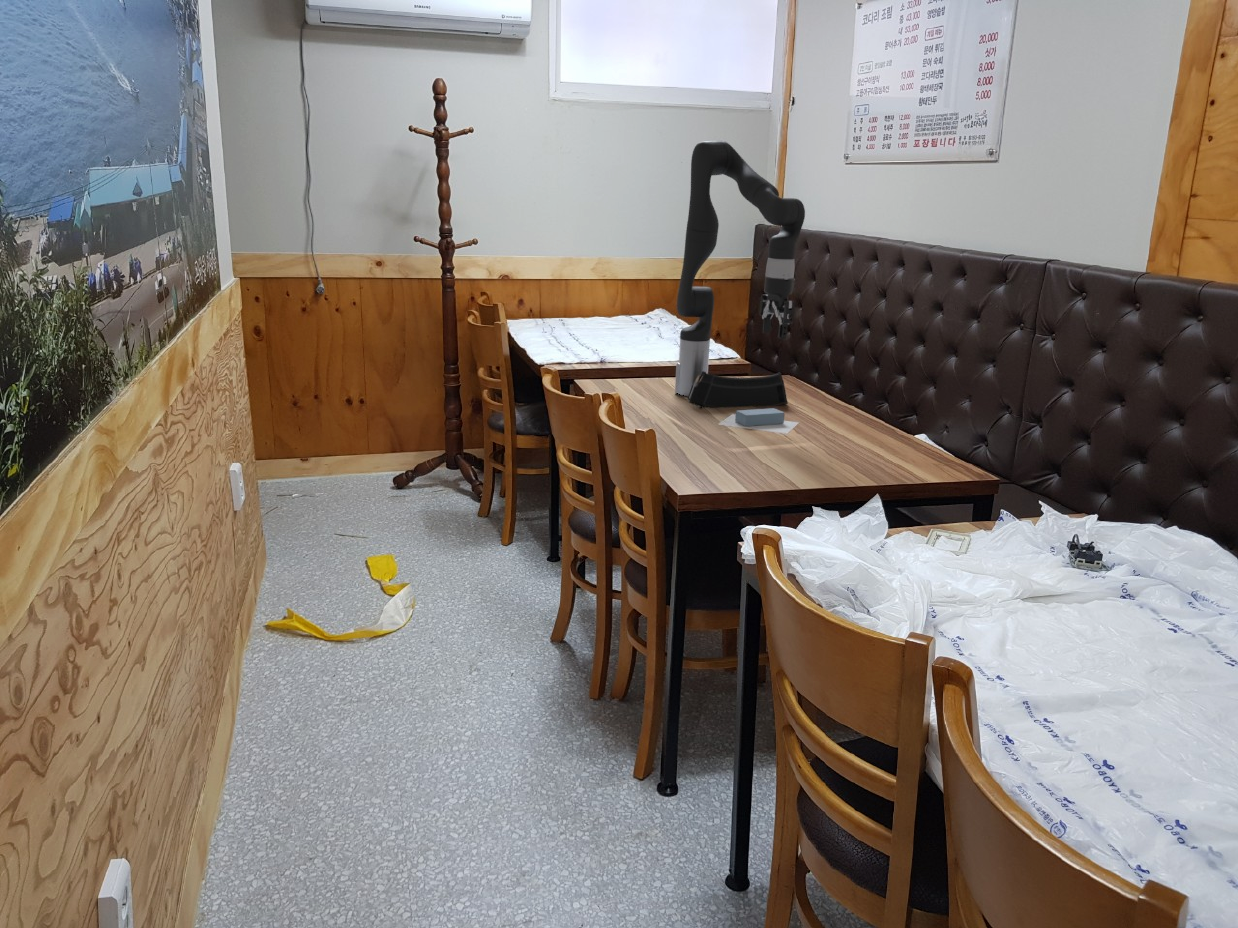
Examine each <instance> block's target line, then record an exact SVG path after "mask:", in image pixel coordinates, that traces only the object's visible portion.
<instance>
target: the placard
mask: <svg viewBox="0 0 1238 928" xmlns="http://www.w3.org/2000/svg"><path fill="white" fill-rule="evenodd" d="M735 414H736V417H735V422H738V423H740V424H742V425H744V426H757V425H771V424H783V423H784V421H785V414H786V413H785V411H782V410H779V409H777V408H773V407H771V408H756V409H744V410H743V409H742V410H741V409H740V410H735Z"/></svg>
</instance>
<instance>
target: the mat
mask: <svg viewBox="0 0 1238 928" xmlns="http://www.w3.org/2000/svg"><path fill="white" fill-rule="evenodd" d="M735 417H736V413H732V414H731V415H729V416H727V417H726V418H725V419H723V420H722V421H720V422H719V423H718V424H717V425H719V426H726V427H732V428H733V427H734V428H741V429H748V430H749V429H750V430H754V431H762V432H768V433H769V432H770V433H778V434H784V435H785V434H786V435H788V434H789V433H790V432H791V431H793V429H794V428H795V427H796V426H797V425H799V423H800V422H799V421H791V420H784V423H783V424H771V425H757V426H744V425H742V424H740V423H738V422H735Z"/></svg>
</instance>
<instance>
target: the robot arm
mask: <svg viewBox="0 0 1238 928" xmlns="http://www.w3.org/2000/svg"><path fill="white" fill-rule="evenodd" d="M690 161H691V163H690V191H689V192H690V195H689V207H688V216H687V221H686V231H685V240H684V242H685V243H684V253H683V261H682V268H681V269H682V270H681V274H680V278H679V279H680V280H679V286H678V292H677V298H676V311H677V314H678V315H679V316H680V317H681V318H682V317H683V318H698V319H697V321H695V323H693V324H691V325H689V326H687V327H684V328H682V329H681V330H680V333H679V334H680V335H679V352H678V362H676V365H675V383H674V386H675V387H674V394H675V393H678V394H677V395H679V394H680V396H683V395H684V396H685V397H688V396H689V393H690V390H691V387H692V385H694V383H695V381H696V379H697V377H698V375H700V376H701V374H702V372H703V371H704V372H706V374H709V359H710V346H711V333H712V326H713V324H712V323H713V315H714V308H715V294H714V290H713V289H712V288H711V287H710V286H693V285H694V281H695V278H696V277H697V273H699V270H700V269H701V268H702V266H703V265H704V263H705V262H706V261H707V260H708V258H709V257H710V256H711V255H712V253H713V251H714V250H715V248H716V247H717V246H716V245H717V241H718V235H719V227H720V224H719V218H718V215H717V211H716V210H715V207H714V205H713V202H712V198H711V191H710V189H711V179H712V176H722V175H724V176H726V177H729V178H730V179H733V180H734V181H735V182H736V184H737V187H738V190H739V192H740V194H741V195H742V197H743V198H744V199H745V200H747V201H748V202H749V203H750V204H752V205H753V206H754V207H755V208H757V209H758V210H759V212H760V213H761V215H762V216H763V218H764V219H765V221H766V222H768V223H769V224H771V225H773V226H775V227H776V226H777V227H781V228H780V231H779V232H778V234H776V235H775V234H774V235H773V236H772V237H771V238H770V239H769V243H768V244H769V245H768V256H767V262H766V268H765V276H764V277H765V278H764V279H765V280H764V289H763V291H764V293H765V294H760V295H761V296H760V304H759V311H758V314H759V317H761V318H762V320H763V322H762V334H770V333H771V331H772V318H773V316H774V315H775V317H776V318H777V320H778V321H779V322H778V323H779V324H778V331H777V332H778V333H777V334H778V335H777V339H780V340H782V339H783V340H786V338H787V335H788V334H787V333H788V325H790V324H793V323H794V319H795V318H794V316H795V305H796V304H795V300H789V296H790V295H792V294H793V288H794V280H795V279H794V277H795V265H796V264H795V258H796V247H797V242H798V239H799V236H800V233H801V230H802V228H803V225H804V222H805V219H806V218H805V217H806V210H805V205H804V203H803V202H802V201H801V200H800V199H799V198H794V197H792V198H791V197H786V198H785V197H780V192H779V190H778V188H776V187H775V185H773V183H771V182H769V181H768V180H767V179H766V178H764V177H763V176H761V175H759V173H757V172H756V171H755V170H754V169H753V168H752V167H751V166H750V165H749V164H748V163H747V162H746V161H745V159H744V158H743V157H742V156H741V155H740V154H739V153H738V151H736V149H735V148H734V147H733V146H732V145H731V144H730V143H728V142H727V141H723V140H704V141H700V142H698V143H697V144H696V145H695V146H694V148H693V151H692V155H691V159H690ZM684 396H683V397H684Z"/></svg>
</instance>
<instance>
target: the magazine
mask: <svg viewBox="0 0 1238 928" xmlns="http://www.w3.org/2000/svg"><path fill="white" fill-rule="evenodd" d="M687 400H688V401H689V404H690V405H691V404H692V405H695V406H699V408H700V409H701V410H702V409H703V408H707V409H714V408H715V409H716V408H717V409H718V408H736V407H737V408H739V407H742V408H743V407H745V408H746V407H774V406H775V407H776V406H777V407H778V406H782V405H788V404H789V402H788V398H787V393H786V386H785V382H784V379H783V375H782V373H781V372H780V371H779V372H777V373H774V374H771V375H766V376H765V375H764V376H754V377H753V376H752V377H729V376H722V375H721V376H720V375H715V374H712V373H708V374H706V372H704V371H703V372H702V374H701V376H700V375H698V377H697V379H696V381H695V383H694V385H692V387H691V390H690V393H689V396H687Z"/></svg>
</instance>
